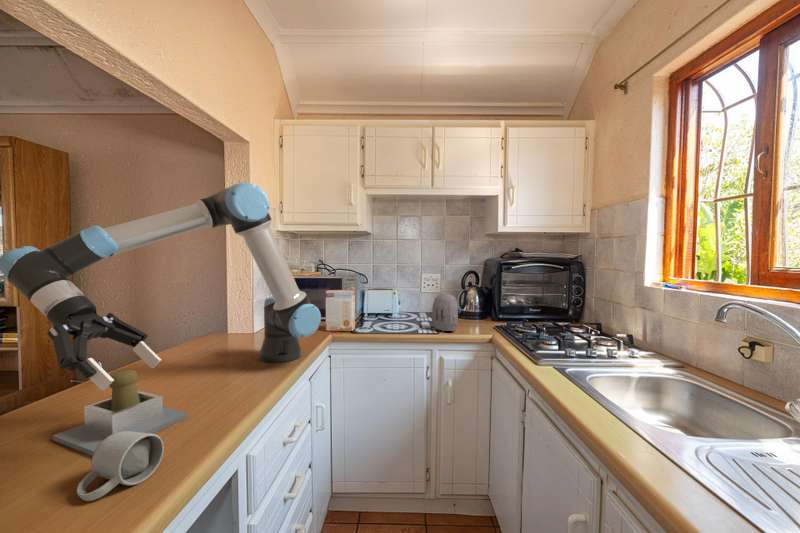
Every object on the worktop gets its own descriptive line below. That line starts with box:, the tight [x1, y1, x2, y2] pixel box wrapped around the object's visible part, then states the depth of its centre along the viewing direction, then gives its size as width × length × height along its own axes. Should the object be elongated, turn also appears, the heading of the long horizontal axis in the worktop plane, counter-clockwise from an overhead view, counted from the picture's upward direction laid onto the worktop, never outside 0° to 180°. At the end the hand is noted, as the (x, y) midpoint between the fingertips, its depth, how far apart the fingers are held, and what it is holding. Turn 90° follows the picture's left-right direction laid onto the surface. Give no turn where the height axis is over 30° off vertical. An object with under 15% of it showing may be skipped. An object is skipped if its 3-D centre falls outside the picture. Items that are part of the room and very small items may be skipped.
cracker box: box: [325, 289, 356, 332], centre depth 176 cm, size 14×6×21 cm, turn 82°
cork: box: [108, 369, 140, 412], centre depth 77 cm, size 6×6×11 cm
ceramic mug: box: [76, 431, 165, 502], centre depth 58 cm, size 11×8×8 cm
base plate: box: [52, 405, 189, 457], centre depth 76 cm, size 18×16×1 cm
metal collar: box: [83, 389, 164, 437], centre depth 76 cm, size 10×10×5 cm
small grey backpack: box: [431, 292, 459, 332], centre depth 176 cm, size 15×8×20 cm, turn 44°
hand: (134, 374), depth 76 cm, fingers open, 13 cm apart
